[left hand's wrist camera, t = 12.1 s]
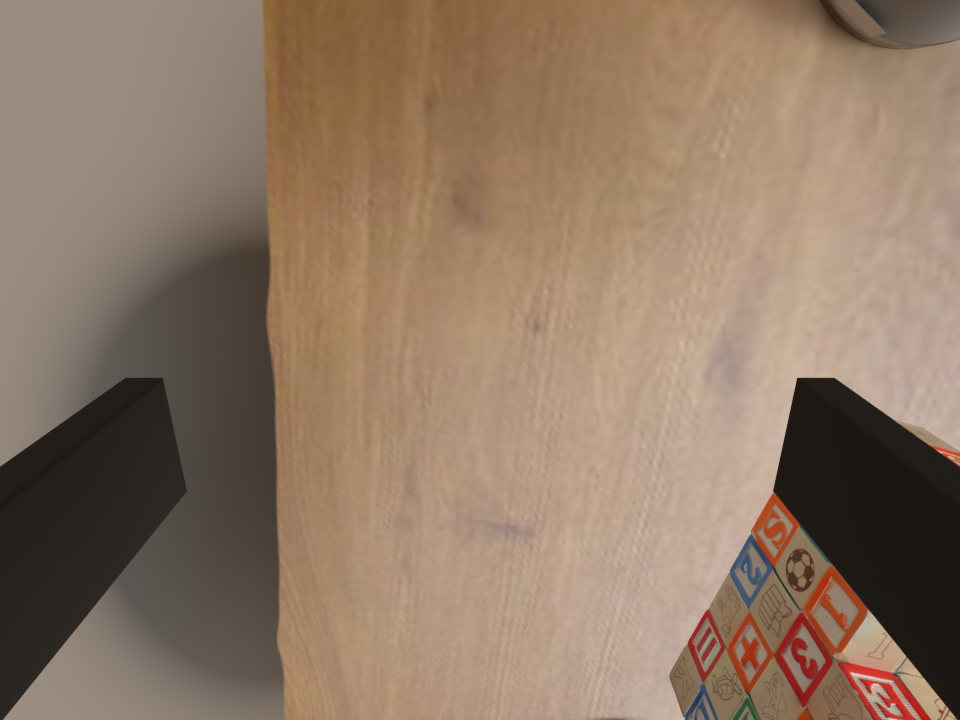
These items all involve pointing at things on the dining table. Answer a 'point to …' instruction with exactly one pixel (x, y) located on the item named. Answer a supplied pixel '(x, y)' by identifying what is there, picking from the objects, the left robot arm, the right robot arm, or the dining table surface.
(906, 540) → the left robot arm
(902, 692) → the stack of blocks
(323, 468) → the dining table surface
